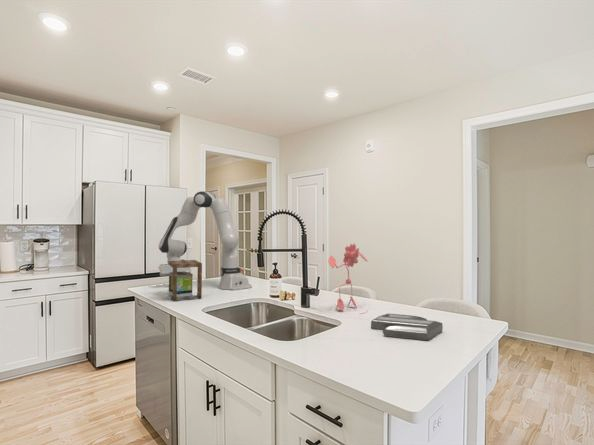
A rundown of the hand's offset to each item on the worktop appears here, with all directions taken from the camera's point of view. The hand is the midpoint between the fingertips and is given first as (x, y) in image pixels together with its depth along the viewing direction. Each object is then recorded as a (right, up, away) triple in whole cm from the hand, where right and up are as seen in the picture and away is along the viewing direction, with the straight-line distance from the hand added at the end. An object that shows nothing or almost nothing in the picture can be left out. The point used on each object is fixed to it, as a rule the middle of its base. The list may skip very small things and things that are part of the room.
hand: (176, 279), depth 225 cm
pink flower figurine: (+110, -7, -52) cm, 122 cm away
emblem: (+128, -8, -83) cm, 153 cm away
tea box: (+11, -6, -25) cm, 28 cm away
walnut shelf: (+13, -6, -24) cm, 28 cm away
